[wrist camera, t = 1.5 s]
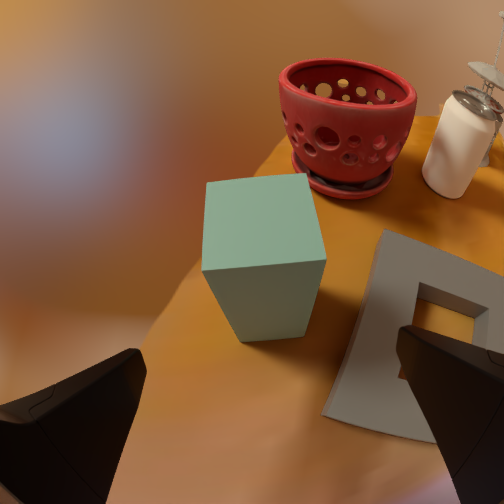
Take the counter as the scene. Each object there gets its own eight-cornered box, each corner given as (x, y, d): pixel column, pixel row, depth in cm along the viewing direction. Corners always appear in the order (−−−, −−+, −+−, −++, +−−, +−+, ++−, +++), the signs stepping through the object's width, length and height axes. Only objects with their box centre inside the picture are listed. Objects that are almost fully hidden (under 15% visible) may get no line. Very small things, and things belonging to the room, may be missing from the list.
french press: (434, 141, 33) (469, -8, 12) (448, 118, 37) (476, 0, 16) (486, 176, 29) (541, 32, 8) (492, 147, 32) (532, 31, 11)
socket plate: (477, 448, 13) (493, 448, 11) (320, 415, 18) (325, 415, 16) (502, 293, 20) (515, 282, 18) (377, 244, 25) (384, 228, 23)
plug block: (304, 336, 21) (326, 259, 11) (240, 342, 21) (201, 270, 11) (296, 279, 24) (306, 173, 14) (238, 285, 24) (206, 182, 14)
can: (452, 167, 30) (481, 96, 20) (469, 203, 26) (509, 128, 16) (414, 161, 31) (439, 82, 20) (429, 198, 27) (466, 113, 17)
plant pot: (382, 143, 33) (398, 64, 23) (400, 218, 26) (439, 122, 16) (286, 133, 35) (283, 50, 25) (276, 206, 28) (270, 99, 18)
